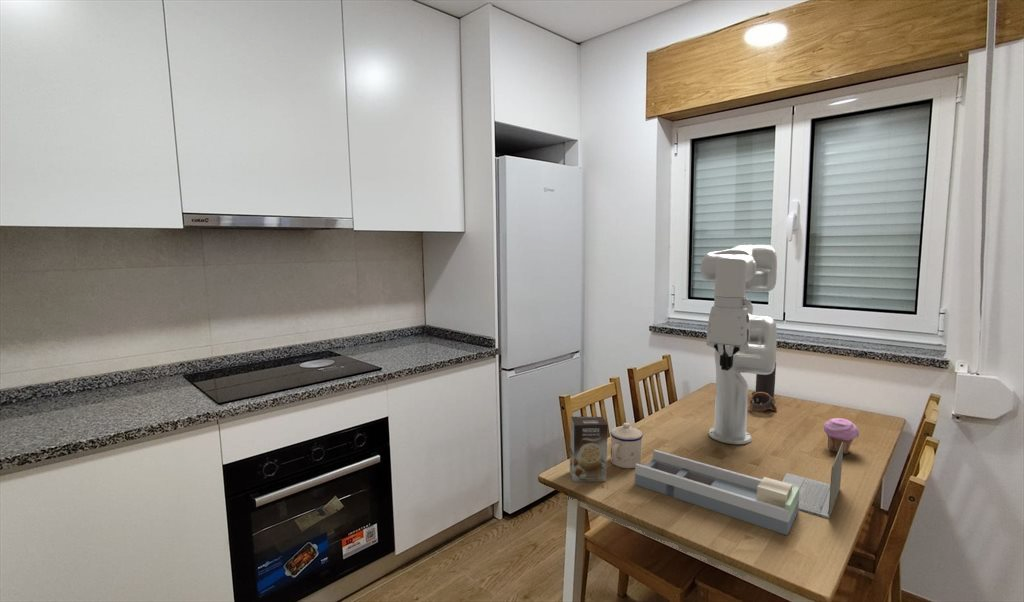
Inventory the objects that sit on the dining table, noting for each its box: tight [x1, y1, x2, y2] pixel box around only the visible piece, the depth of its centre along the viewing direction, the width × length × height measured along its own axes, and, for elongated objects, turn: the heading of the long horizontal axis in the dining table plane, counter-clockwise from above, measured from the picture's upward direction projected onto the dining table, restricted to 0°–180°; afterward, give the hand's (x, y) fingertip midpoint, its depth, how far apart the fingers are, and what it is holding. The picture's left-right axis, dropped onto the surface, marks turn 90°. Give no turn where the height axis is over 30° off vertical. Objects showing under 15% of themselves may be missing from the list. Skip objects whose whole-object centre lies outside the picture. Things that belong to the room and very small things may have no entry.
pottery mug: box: [749, 390, 778, 413], centre depth 186 cm, size 12×9×8 cm
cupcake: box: [823, 417, 860, 455], centre depth 150 cm, size 9×9×10 cm
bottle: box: [755, 362, 777, 400], centre depth 199 cm, size 7×7×20 cm
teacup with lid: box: [610, 422, 644, 469], centre depth 143 cm, size 12×9×12 cm
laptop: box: [780, 442, 844, 520], centre depth 125 cm, size 18×12×13 cm
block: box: [757, 476, 792, 508], centre depth 115 cm, size 6×6×5 cm
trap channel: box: [634, 449, 800, 536], centre depth 124 cm, size 12×36×6 cm, turn 50°
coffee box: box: [569, 416, 609, 483], centre depth 135 cm, size 9×6×16 cm
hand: (726, 369), depth 136 cm, fingers closed
